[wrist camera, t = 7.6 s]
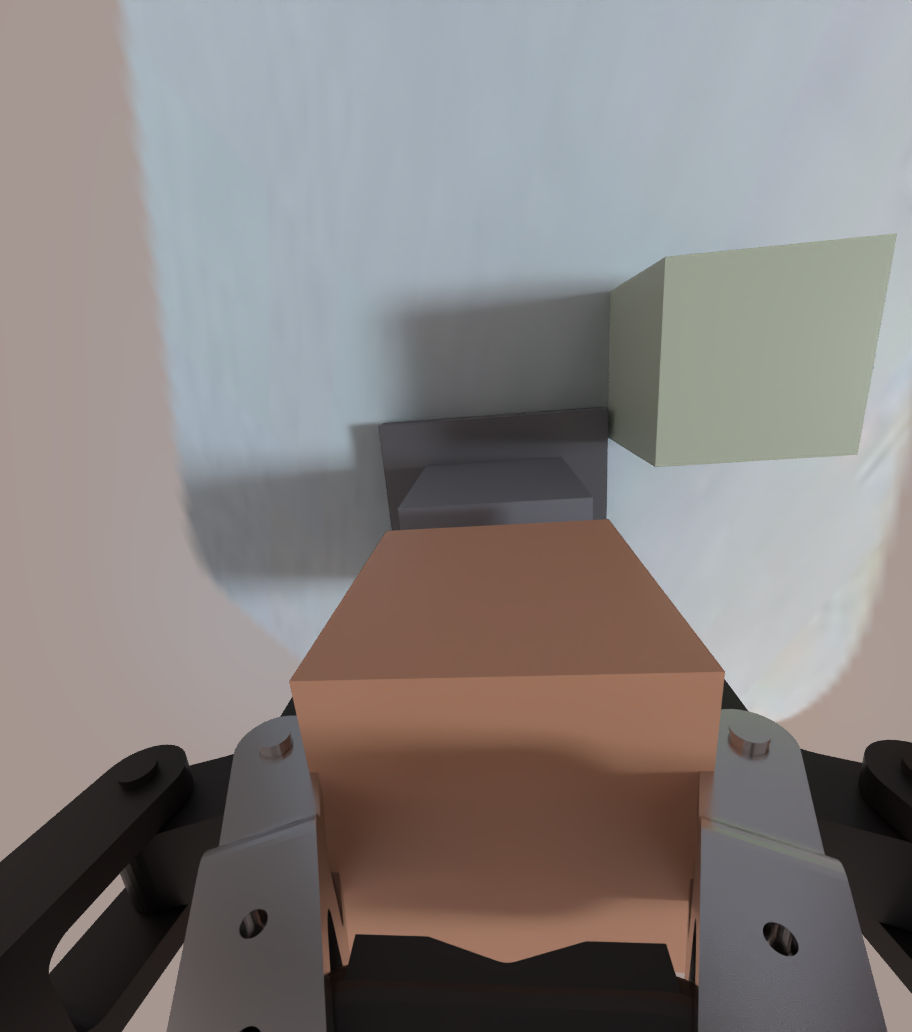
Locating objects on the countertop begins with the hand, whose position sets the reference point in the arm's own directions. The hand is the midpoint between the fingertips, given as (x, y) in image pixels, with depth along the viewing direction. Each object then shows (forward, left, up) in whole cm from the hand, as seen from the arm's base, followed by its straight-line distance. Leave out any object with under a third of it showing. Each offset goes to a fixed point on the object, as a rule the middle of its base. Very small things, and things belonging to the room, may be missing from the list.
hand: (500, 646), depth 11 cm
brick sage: (-6, +8, -10) cm, 14 cm away
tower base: (0, 0, -10) cm, 10 cm away
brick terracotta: (0, 0, -1) cm, 1 cm away
